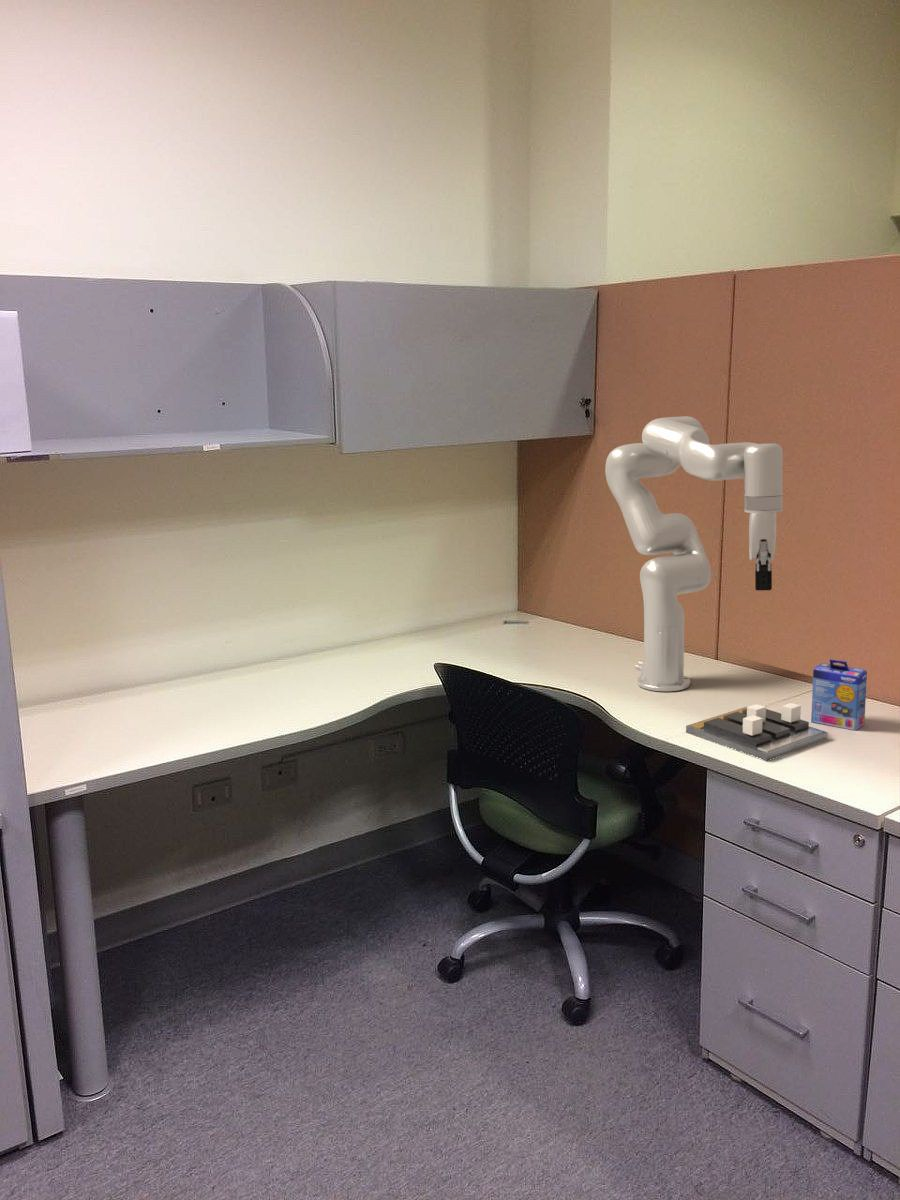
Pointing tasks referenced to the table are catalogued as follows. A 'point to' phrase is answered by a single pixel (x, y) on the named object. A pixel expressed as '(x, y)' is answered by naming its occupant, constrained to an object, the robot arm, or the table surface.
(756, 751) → the panel
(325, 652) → the table surface
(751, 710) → the matte ivory cube
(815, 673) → the ink cartridge box
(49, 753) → the table surface
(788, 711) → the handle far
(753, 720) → the cream upright box
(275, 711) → the table surface
